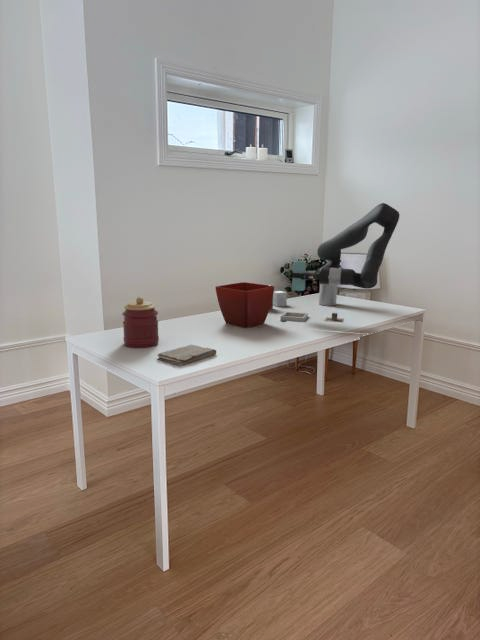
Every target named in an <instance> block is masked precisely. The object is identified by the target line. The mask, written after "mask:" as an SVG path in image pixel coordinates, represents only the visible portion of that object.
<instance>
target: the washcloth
mask: <svg viewBox="0 0 480 640" xmlns="http://www.w3.org/2000/svg"><path fill="white" fill-rule="evenodd" d="M216 354H217V350H216V349H214V348H209V347H203V346H199V345H196V344H195V345H194V344H188V345H185V346H181V347H176V348H174V349H170V350H166V351H163V352H159V353H157V357H158V358H157V361H161V362H163V363H167V364H170V365H173V366H177V367H182V366H185V365H190V364H192V363H195V362H199V361H202V360H205V359H207V358H211V357H214V356H215V355H216Z"/></svg>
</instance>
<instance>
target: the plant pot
mask: <svg viewBox="0 0 480 640" xmlns="http://www.w3.org/2000/svg"><path fill="white" fill-rule="evenodd" d="M270 285H271V284H261V283H254V282H244V281H243V282H242V281H241V282H236V283H229V284H223V285H222V284H221V285H217V286H215V288H214V289H215V294H216V296H217V297H216V298H217V302H218V305H219V308H220V311H221V316H223V318H222V319H223V320H224V322H225V324H227V325H232V326H237V327H241V328H250V327H253V326H258V325H262V324H265V323H266V320H267V317H268V314H269V312H270V310H269V309H270V306H271V302H272V298H273V293H274V291H275V285H272V286H270Z"/></svg>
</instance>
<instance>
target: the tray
mask: <svg viewBox="0 0 480 640" xmlns="http://www.w3.org/2000/svg"><path fill="white" fill-rule="evenodd" d="M308 317H309V314H308V313H306V312H294V311H285V312H284V313H283V314H281V315H280V322H288V321H293V322H301V323H302V322H305V321H306V319H308Z"/></svg>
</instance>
